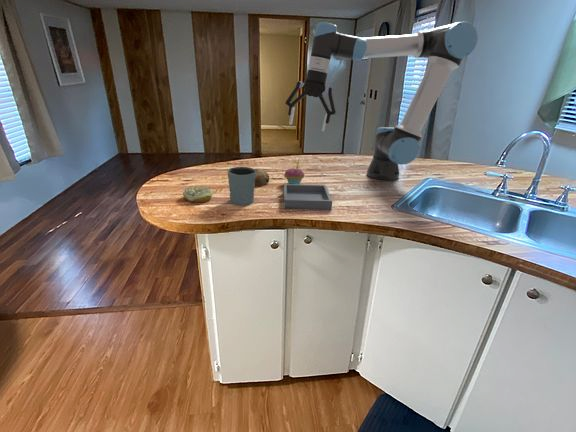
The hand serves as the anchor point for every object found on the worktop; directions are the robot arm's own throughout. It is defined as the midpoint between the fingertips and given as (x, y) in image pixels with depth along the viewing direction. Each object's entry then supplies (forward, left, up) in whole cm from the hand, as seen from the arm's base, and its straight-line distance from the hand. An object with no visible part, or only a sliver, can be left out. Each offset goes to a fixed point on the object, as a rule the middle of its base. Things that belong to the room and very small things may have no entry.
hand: (306, 127), depth 125 cm
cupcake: (+4, +1, -24) cm, 25 cm away
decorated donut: (+41, +19, -25) cm, 52 cm away
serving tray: (0, +19, -24) cm, 31 cm away
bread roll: (+20, -1, -25) cm, 32 cm away
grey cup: (+24, +21, -24) cm, 40 cm away
